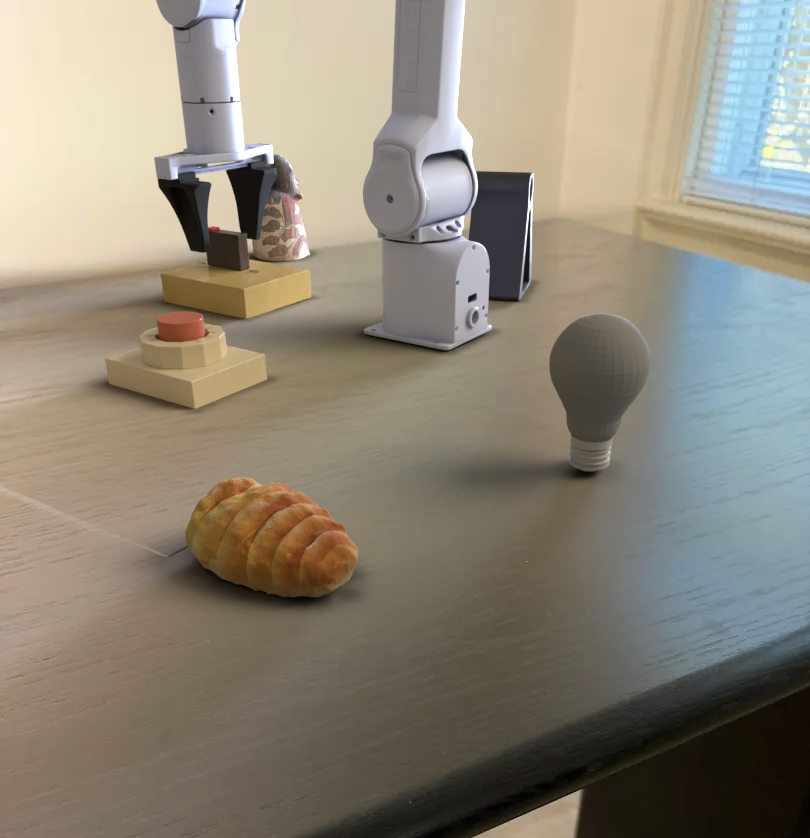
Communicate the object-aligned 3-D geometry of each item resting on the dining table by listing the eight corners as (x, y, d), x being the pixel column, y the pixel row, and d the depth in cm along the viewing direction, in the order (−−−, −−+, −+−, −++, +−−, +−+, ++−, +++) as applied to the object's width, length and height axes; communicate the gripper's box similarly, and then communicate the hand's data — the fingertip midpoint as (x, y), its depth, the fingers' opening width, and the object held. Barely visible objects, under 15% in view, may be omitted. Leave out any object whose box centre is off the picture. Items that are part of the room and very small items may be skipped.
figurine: (316, 258, 112) (310, 155, 106) (260, 263, 110) (251, 158, 104) (300, 247, 118) (294, 149, 112) (247, 252, 115) (238, 152, 109)
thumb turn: (250, 268, 94) (246, 230, 92) (240, 270, 93) (237, 232, 91) (216, 262, 97) (212, 225, 95) (207, 265, 96) (202, 227, 94)
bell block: (267, 379, 73) (263, 331, 71) (194, 409, 67) (188, 358, 65) (183, 358, 78) (177, 313, 76) (108, 384, 72) (100, 336, 70)
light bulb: (571, 442, 61) (584, 296, 56) (652, 465, 58) (673, 312, 53) (523, 471, 57) (533, 317, 52) (607, 498, 54) (626, 335, 49)
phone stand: (518, 301, 93) (525, 179, 87) (463, 298, 95) (465, 177, 89) (531, 281, 101) (538, 167, 95) (480, 278, 102) (483, 166, 96)
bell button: (215, 337, 71) (212, 315, 70) (181, 348, 68) (178, 326, 67) (184, 330, 73) (181, 308, 72) (150, 341, 70) (146, 319, 69)
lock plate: (311, 297, 95) (309, 267, 94) (246, 319, 88) (243, 287, 87) (227, 282, 102) (224, 253, 100) (160, 301, 94) (156, 271, 93)
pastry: (389, 566, 47) (387, 502, 45) (301, 626, 42) (294, 558, 40) (264, 516, 52) (257, 457, 50) (173, 565, 47) (162, 501, 45)
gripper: (234, 96, 94) (246, 229, 101) (125, 104, 84) (147, 252, 91) (284, 98, 91) (293, 236, 97) (176, 107, 80) (195, 260, 87)
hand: (226, 244), depth 94 cm, fingers open, 7 cm apart
